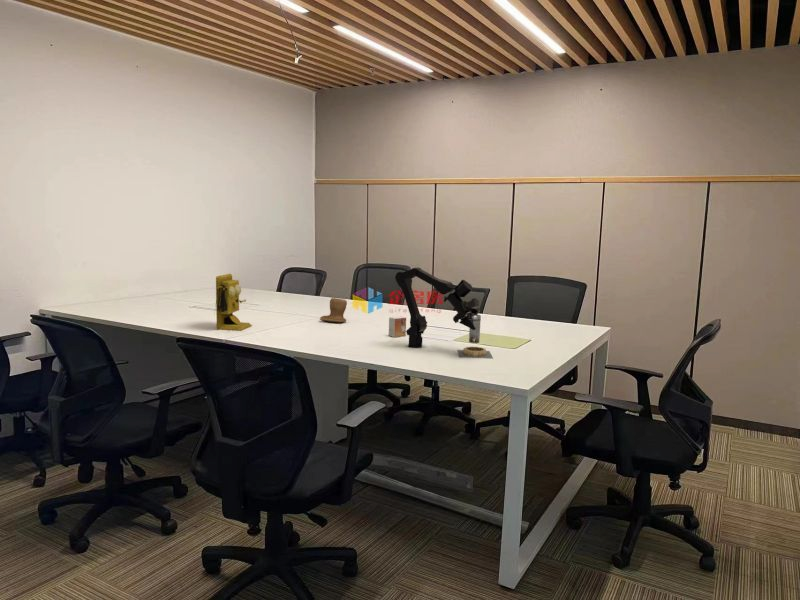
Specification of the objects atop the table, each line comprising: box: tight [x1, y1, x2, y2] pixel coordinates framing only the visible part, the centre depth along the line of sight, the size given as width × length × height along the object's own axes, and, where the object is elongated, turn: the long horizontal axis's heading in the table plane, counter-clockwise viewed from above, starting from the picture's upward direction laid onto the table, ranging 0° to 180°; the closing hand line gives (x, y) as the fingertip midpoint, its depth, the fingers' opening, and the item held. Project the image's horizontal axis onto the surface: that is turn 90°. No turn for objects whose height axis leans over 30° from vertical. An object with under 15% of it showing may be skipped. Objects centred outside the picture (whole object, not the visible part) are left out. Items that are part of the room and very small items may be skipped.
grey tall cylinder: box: [468, 314, 482, 344], centre depth 284 cm, size 5×5×13 cm
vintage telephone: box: [214, 273, 253, 332], centre depth 336 cm, size 31×14×30 cm, turn 171°
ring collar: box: [463, 346, 487, 357], centre depth 287 cm, size 10×10×2 cm
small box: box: [388, 316, 407, 338], centre depth 328 cm, size 8×6×10 cm
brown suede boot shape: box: [319, 297, 348, 323], centre depth 367 cm, size 15×12×15 cm
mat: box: [456, 349, 494, 360], centre depth 287 cm, size 16×16×1 cm
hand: (477, 328), depth 283 cm, fingers closed on grey tall cylinder, 5 cm apart
